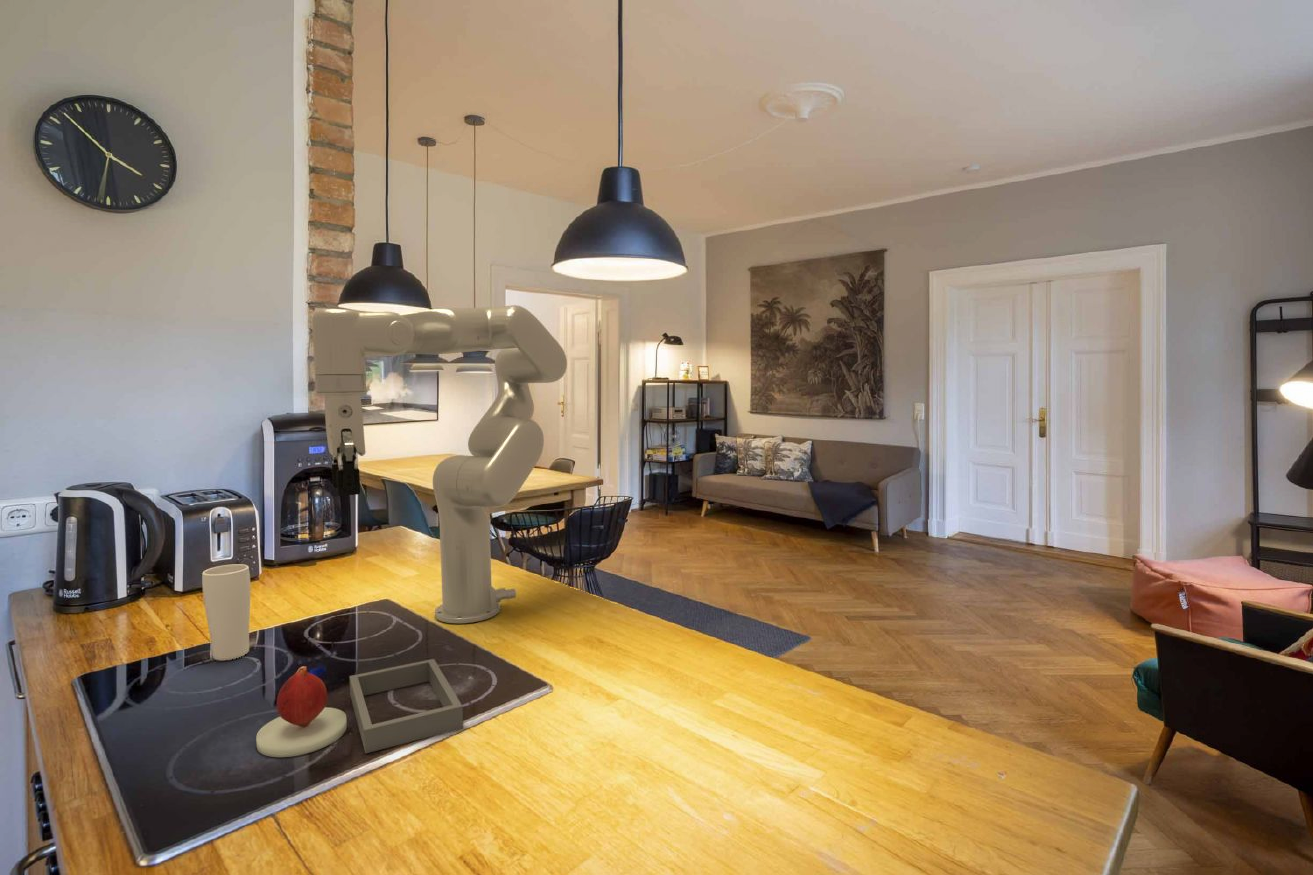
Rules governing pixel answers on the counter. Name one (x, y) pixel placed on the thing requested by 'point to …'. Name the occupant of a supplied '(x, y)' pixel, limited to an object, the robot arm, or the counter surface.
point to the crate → (409, 725)
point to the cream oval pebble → (301, 734)
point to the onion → (301, 698)
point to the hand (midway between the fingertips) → (346, 490)
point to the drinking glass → (227, 609)
